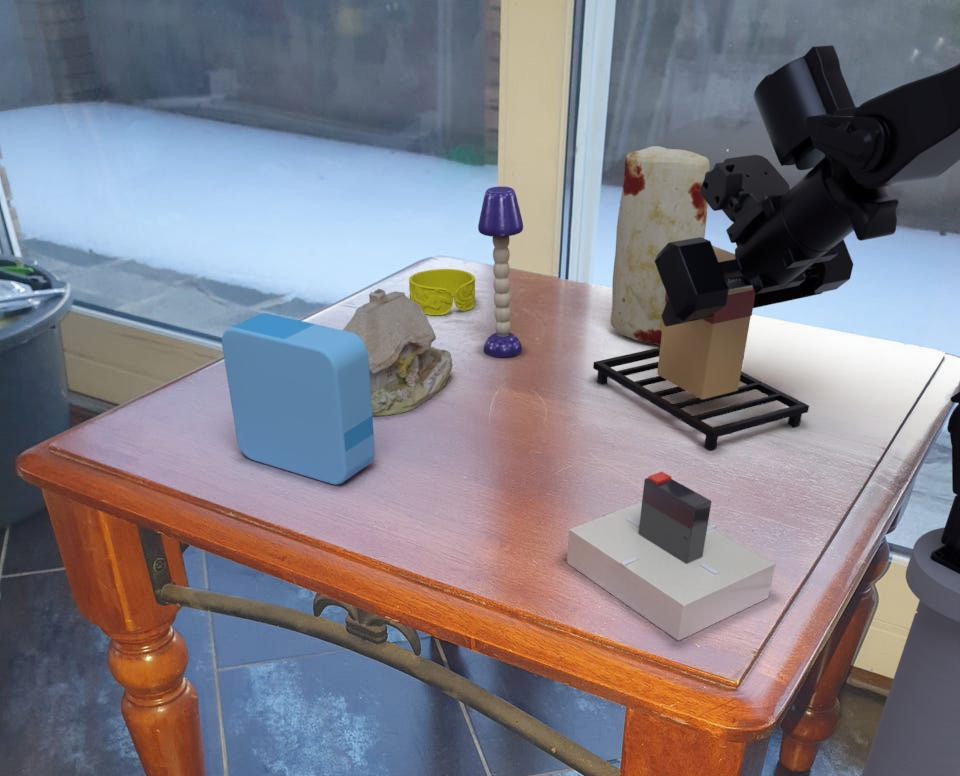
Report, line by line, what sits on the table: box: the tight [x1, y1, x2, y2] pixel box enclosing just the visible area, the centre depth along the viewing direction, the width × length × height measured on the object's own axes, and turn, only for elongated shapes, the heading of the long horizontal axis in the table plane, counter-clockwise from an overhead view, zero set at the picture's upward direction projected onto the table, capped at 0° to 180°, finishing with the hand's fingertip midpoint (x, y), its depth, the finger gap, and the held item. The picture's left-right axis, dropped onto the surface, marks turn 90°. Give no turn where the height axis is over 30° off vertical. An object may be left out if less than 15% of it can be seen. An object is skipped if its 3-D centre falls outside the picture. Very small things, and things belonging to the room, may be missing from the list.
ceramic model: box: [342, 288, 454, 417], centre depth 98 cm, size 14×11×10 cm
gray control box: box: [639, 471, 713, 563], centre depth 70 cm, size 5×2×5 cm, turn 35°
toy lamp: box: [477, 186, 524, 358], centre depth 105 cm, size 5×5×17 cm
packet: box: [656, 245, 755, 400], centre depth 94 cm, size 5×7×12 cm, turn 29°
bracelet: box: [408, 268, 476, 316], centre depth 121 cm, size 7×8×3 cm
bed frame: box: [592, 346, 810, 452], centre depth 98 cm, size 19×12×2 cm, turn 29°
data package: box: [221, 312, 376, 486], centre depth 85 cm, size 12×4×12 cm, turn 60°
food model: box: [610, 145, 711, 346], centre depth 107 cm, size 10×7×20 cm
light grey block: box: [566, 501, 776, 642], centre depth 73 cm, size 12×9×3 cm
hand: (703, 313), depth 94 cm, fingers open, 9 cm apart
